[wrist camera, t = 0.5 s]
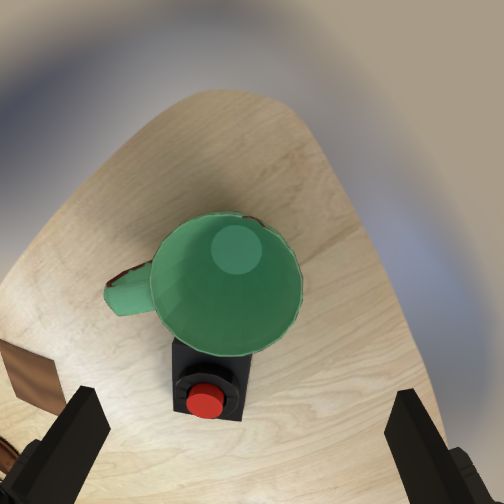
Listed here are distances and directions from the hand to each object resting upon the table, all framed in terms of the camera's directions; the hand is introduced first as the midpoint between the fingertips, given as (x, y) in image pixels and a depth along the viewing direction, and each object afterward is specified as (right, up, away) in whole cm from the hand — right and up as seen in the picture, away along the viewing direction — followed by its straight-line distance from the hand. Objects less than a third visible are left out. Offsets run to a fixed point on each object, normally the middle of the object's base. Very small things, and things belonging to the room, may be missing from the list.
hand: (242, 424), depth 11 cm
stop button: (-4, -8, +18) cm, 20 cm away
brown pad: (-33, -13, +24) cm, 43 cm away
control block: (-4, -7, +21) cm, 23 cm away
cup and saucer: (-59, -41, +33) cm, 79 cm away
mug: (-3, +7, +18) cm, 19 cm away
